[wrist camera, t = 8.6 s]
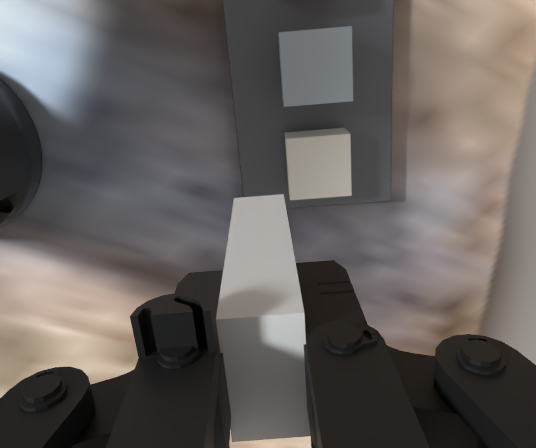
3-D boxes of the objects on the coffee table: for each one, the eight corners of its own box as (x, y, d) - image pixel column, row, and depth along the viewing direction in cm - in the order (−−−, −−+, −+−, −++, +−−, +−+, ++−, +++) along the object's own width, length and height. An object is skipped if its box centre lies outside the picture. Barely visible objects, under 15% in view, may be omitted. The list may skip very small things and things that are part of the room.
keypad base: (246, 203, 40) (245, 211, 38) (215, -94, 32) (212, -102, 30) (384, 193, 40) (390, 200, 38) (387, -111, 32) (394, -120, 30)
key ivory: (287, 182, 39) (289, 200, 34) (283, 128, 37) (285, 138, 33) (342, 178, 39) (351, 195, 34) (340, 123, 37) (350, 133, 33)
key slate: (282, 99, 35) (283, 106, 31) (277, 34, 34) (278, 32, 29) (342, 94, 35) (353, 101, 31) (340, 29, 34) (351, 25, 29)
